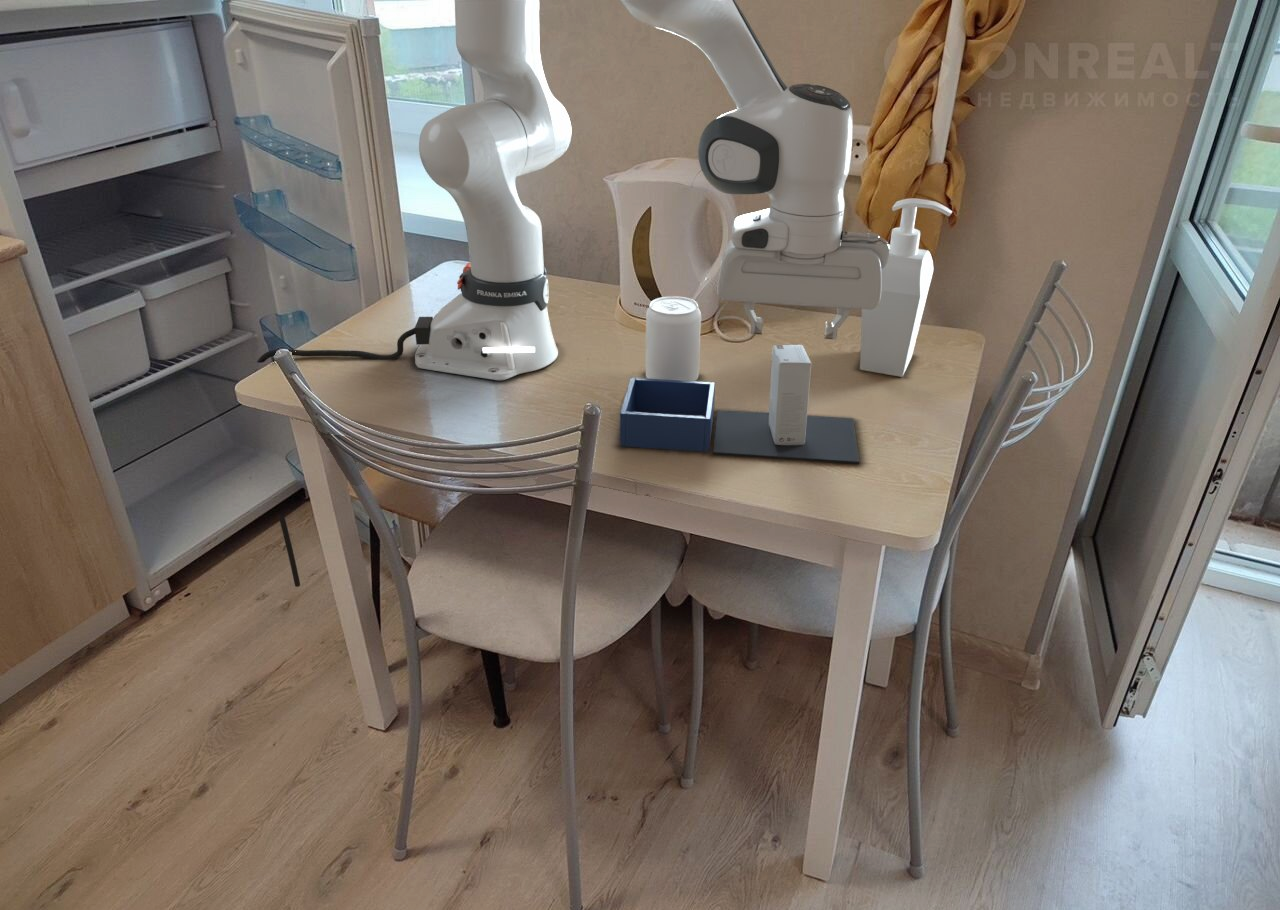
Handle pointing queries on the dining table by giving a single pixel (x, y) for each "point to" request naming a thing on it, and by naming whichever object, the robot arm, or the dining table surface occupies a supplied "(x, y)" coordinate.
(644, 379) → the bin
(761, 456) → the mat
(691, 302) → the beverage can
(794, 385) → the cosmetic box
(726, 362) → the dining table surface
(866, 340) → the soap bottle
